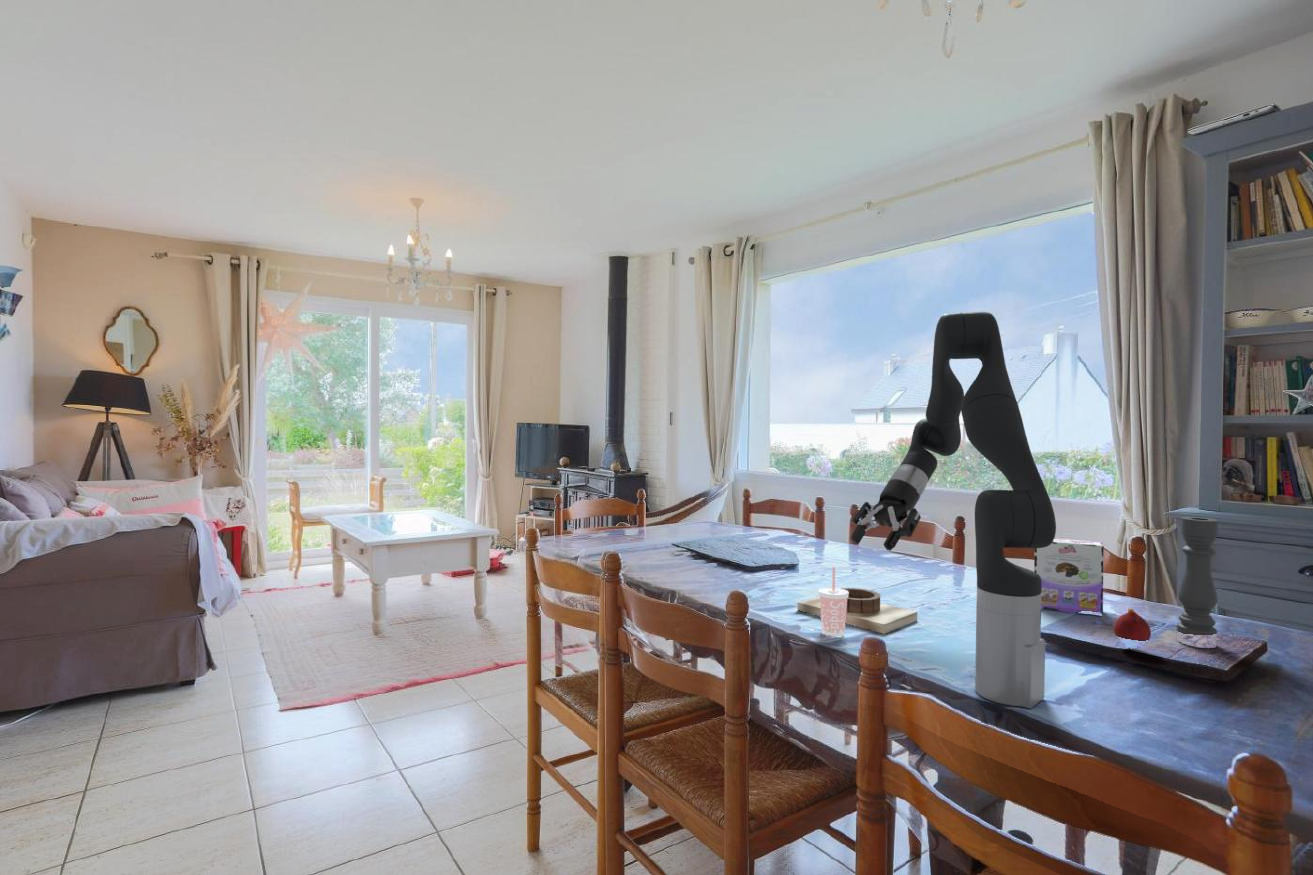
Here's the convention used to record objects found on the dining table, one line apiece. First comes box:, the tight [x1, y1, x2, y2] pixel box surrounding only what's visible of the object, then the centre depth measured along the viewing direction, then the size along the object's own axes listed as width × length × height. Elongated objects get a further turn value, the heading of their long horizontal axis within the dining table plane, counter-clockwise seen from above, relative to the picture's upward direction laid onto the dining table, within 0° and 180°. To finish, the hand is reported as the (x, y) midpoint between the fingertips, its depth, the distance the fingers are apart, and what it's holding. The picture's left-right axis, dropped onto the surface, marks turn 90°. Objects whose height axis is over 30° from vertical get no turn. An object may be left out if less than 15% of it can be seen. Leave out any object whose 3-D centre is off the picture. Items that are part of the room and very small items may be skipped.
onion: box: [1113, 607, 1152, 641], centre depth 128 cm, size 6×6×8 cm
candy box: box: [1033, 538, 1104, 614], centre depth 155 cm, size 14×6×16 cm, turn 58°
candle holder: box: [1176, 516, 1219, 635], centre depth 132 cm, size 6×6×25 cm
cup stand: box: [796, 587, 918, 635], centre depth 150 cm, size 22×14×5 cm, turn 41°
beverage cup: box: [817, 566, 849, 636], centre depth 137 cm, size 6×6×14 cm
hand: (870, 544), depth 143 cm, fingers open, 8 cm apart
